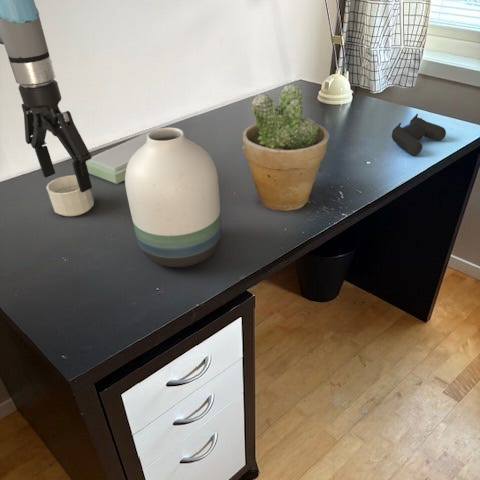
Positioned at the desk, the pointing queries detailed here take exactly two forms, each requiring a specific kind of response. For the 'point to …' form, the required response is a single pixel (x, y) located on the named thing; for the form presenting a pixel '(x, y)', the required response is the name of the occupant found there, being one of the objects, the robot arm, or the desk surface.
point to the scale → (115, 160)
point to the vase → (174, 199)
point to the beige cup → (69, 196)
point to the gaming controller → (416, 134)
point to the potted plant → (283, 150)
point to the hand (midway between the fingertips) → (67, 182)
